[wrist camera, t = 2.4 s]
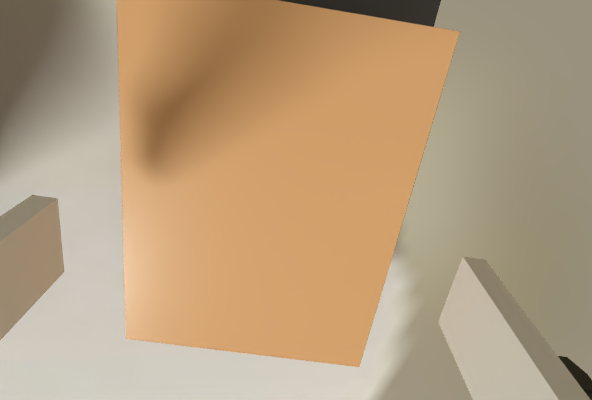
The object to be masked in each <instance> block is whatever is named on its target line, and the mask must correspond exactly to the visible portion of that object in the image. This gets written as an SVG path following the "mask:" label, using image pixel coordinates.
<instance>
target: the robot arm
mask: <svg viewBox="0 0 592 400" xmlns="http://www.w3.org/2000/svg"><path fill="white" fill-rule="evenodd" d="M63 272H64V264H63V253H62V243H61V232H60V221H59V210H58V199H57V198H50V197H43V196H36V195H32V196H30V197H29V198H27V199H26V200H24V201H23V202H21V203H20V204H18V205H17V206H15V207H14V208H12V209H11V210H9V211H8V212H6V213H5V214H3V215H2V216H0V340H1V339H2V338H3V337H4V336H5V335H6V334H7V332H8V331H9V330H10V329H11V328H12V327H13V326H14V325H15V324H16V323H17V322H18V321H19V320H20V319H21V317H22V316H23V315H24V314H25V313H26V312H27V311H28V310H29V309H30V308H31V307H32V306H33V305H34V304H35V302H36V301H37V300H38V299H39V298H40V297H41V296H42V295H43V294H44V293H45V292H46V291H47V290H48V288H49V287H50V286H51V285H52V284H53V283H54V282H55V281H56V280H57V279H58V278H59V277H60V276H61V275H62V273H63ZM439 325H440V327H441V329H442V331H443V333H444V336H445V338H446V340H447V342H448V345H449V347H450V349H451V351H452V354H453V356H454V358H455V360H456V363H457V365H458V367H459V369H460V372H461V374H462V376H463V378H464V381H465V383H466V385H467V387H468V390H469V392H470V394H471V396H472V399H473V400H592V380H591V378H590V377H589V376H588V375H587V374H586V373H585V372H584V371H583V370H582V369H580V368H579V367H578V366H577V365H575V364H574V363H573V362H572V361H571V360H570V359H568V358H567V357H562V356H557V354H556V353H555V352H554V350H553V349H552V348H551V346H550V345H549V344H548V342H547V341H546V340H545V338H544V337H543V336H542V335H541V333H540V332H539V330H538V329H537V328H536V326H535V325H534V324H533V323H532V321H531V320H530V318H529V317H528V316H527V314H526V313H525V312H524V310H523V309H522V308H521V307H520V305H519V304H518V303H517V301H516V300H515V299H514V297H513V296H512V295H511V293H510V292H509V291H508V289H507V288H506V287H505V285H504V284H503V283H502V281H501V280H500V279H499V277H498V276H497V275H496V273H495V272H494V271H493V269H492V268H491V267H490V265H489V264H488V263H487V261H486V260H483V259H476V258H469V257H463V258H462V261H461V263H460V266H459V268H458V271H457V274H456V276H455V279H454V282H453V285H452V287H451V290H450V292H449V295H448V298H447V300H446V303H445V306H444V308H443V311H442V314H441V316H440V319H439Z"/></svg>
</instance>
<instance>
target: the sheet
mask: <svg viewBox="0 0 592 400" xmlns="http://www.w3.org/2000/svg"><path fill="white" fill-rule="evenodd" d="M117 32H118V69H119V105H120V141H121V177H122V213H123V250H124V286H125V322H126V339H133V340H141V341H149V342H157V343H165V344H174V345H182V346H190V347H198V348H207V349H215V350H223V351H231V352H240V353H248V354H256V355H264V356H273V357H281V358H289V359H297V360H306V361H314V362H322V363H330V364H339V365H347V366H355V367H359V366H360V363H361V360H362V356H363V353H364V350H365V346H366V343H367V340H368V336H369V333H370V330H371V326H372V323H373V320H374V316H375V313H376V310H377V306H378V303H379V300H380V296H381V293H382V290H383V286H384V283H385V280H386V276H387V273H388V270H389V266H390V263H391V260H392V256H393V253H394V250H395V246H396V243H397V240H398V236H399V233H400V230H401V226H402V223H403V220H404V216H405V213H406V209H407V206H408V203H409V199H410V196H411V193H412V190H413V186H414V183H415V180H416V176H417V173H418V170H419V166H420V163H421V160H422V156H423V153H424V149H425V146H426V143H427V140H428V136H429V133H430V129H431V126H432V123H433V120H434V116H435V113H436V110H437V106H438V103H439V99H440V97H441V93H442V90H443V86H444V83H445V80H446V77H447V73H448V70H449V66H450V63H451V60H452V57H453V53H454V50H455V46H456V43H457V40H458V37H459V33H460V32H459V31H454V30H448V29H442V28H436V27H431V26H425V25H419V24H413V23H407V22H402V21H396V20H390V19H384V18H378V17H372V16H367V15H361V14H355V13H349V12H343V11H337V10H332V9H326V8H320V7H314V6H308V5H302V4H297V3H291V2H285V1H279V0H117Z"/></svg>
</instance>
